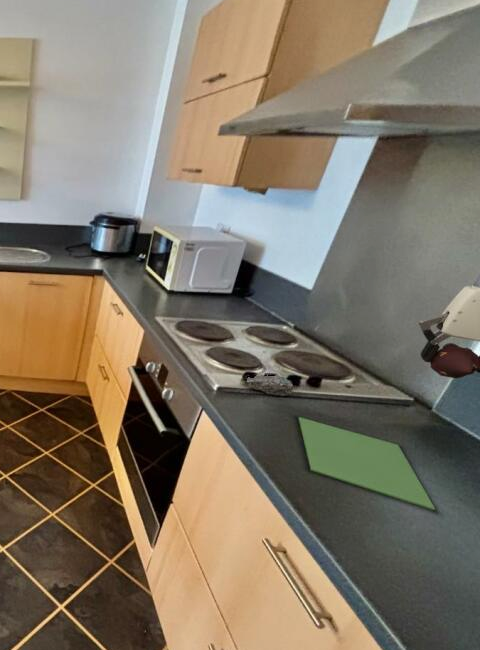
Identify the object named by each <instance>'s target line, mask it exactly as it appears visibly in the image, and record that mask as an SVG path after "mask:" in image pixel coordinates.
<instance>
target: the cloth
mask: <svg viewBox="0 0 480 650" xmlns="http://www.w3.org/2000/svg"><path fill="white" fill-rule="evenodd" d="M298 422H299V426H300V431H301V435H302V439H303V443H304V447H305V451H306V457H307V460H308V464H309V468H310V471H311V472H314V473H316V474H321V475H323V476H326V477H330V478H332V479H335V480H339V481H342V482H345V483H348V484H351V485H354V486H357V487H360V488H363V489H366V490H369V491H373V492H375V493H378V494H381V495H385V496H388V497H390V498H394V499H397V500H399V501H403V502H407V503H409V504H412V505H415V506H419V507H422V508H424V509H427V510H430V511H435V510H436V508H435V506H434V504H433V503H432V501H431V500H430V497H429V496H428V494H427V492H426V490H425V488H424V486H423V485H422V484H421V482H420V480H419V478H418V477H417V475H416V473H415V471H414V470H413V468H412V466H411V464H410V462H409V461H408V459H407V457H406V456H405V454H404V452H403V450H402V449H401V447H400V446H399V444H396V443H392V442H390V441H386V440H383V439H378V438H375V437H371V436H368V435H364V434H362V433H357V432H354V431H351V430H346V429H343V428H339V427H336V426H332V425H328V424H326V423H321V422H318V421H314V420H311V419H307V418H304V417H300V416H299V417H298Z"/></svg>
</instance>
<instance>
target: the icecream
mask: <svg viewBox="0 0 480 650" xmlns="http://www.w3.org/2000/svg"><path fill="white" fill-rule="evenodd" d="M479 356H480V355H478V354H477V353H476V352H475V351H473V350H472V349H471V348H469V347H462V346H459V345H458V344H456V343H453V342H448V343H446V344H445V343H444V345H443V346H442V348H439V349H438V351H437V352H436V354H435V356H434V357H433V359H432V360H431V362H429V364H430V368H431V369H432V370H433V372H435V373H437V374H438V375H439V376H440V377H445V378H450V379H460V378H463V377H466V376H470V375H473V374H475V372H477V370H479V369H480V363H479Z"/></svg>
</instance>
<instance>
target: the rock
mask: <svg viewBox="0 0 480 650" xmlns="http://www.w3.org/2000/svg"><path fill="white" fill-rule="evenodd" d="M257 374H258V375H257V376H255V377H254V378H250V377H248V378H247V377H246V381H245V382H246V384H247V386H248V387H249V388H250V389H251V388H252V389H254V390H257V391H262V392H264V393H266V394H268V395H273V396H280V397H288V396H291V394H292V393H293V389H294V386H293V383H292V381H291V380H289V379H287V378H285V376H281V375H275V374H274V375H275V376H268V375H269V374H266V375H267V376H263V374H264V373H257Z"/></svg>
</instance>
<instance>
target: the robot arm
mask: <svg viewBox="0 0 480 650" xmlns="http://www.w3.org/2000/svg"><path fill="white" fill-rule="evenodd" d="M418 325H419V328H420V330H421V332H422V334H423V336H424V337H425V339H426V341H427V342H426V344H425V345H424V347H423V348H422V350H421V353H420V356H421V359H422V360H423V362H424V363H430V362H431V360H432V359H433V357H434V356H435V354H436V352H437V351H438V350H440V349H441V347H440V345H439V344H440V343H442V342H444V341H446V340H447V339H449V338H450V337H452V338H459V339H464V340H469V341H475V342H480V273H479V274H478V276H477V277H476V279H475V280H474V282H473V284H472V285H471V286H470V285H466V286H464V287H463V288H462V289H461V290H460V291H459V292H458V294H457V295H456V296H455V297H453V299H452V300H451V301H450V302H449V304H448V305H447V307H446V308H445V309H444V311H443V312H442V313H441V314H439V315H435V316H432V317H428V318H424V319H421V320H419V321H418ZM433 325H434V326H435V328H436V329H438V330H437V331H435V332H434V331H432V328H431V326H433ZM478 356H479V363H480V355H478ZM476 373H478V374H480V369H479V370H477V371H476Z"/></svg>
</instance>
